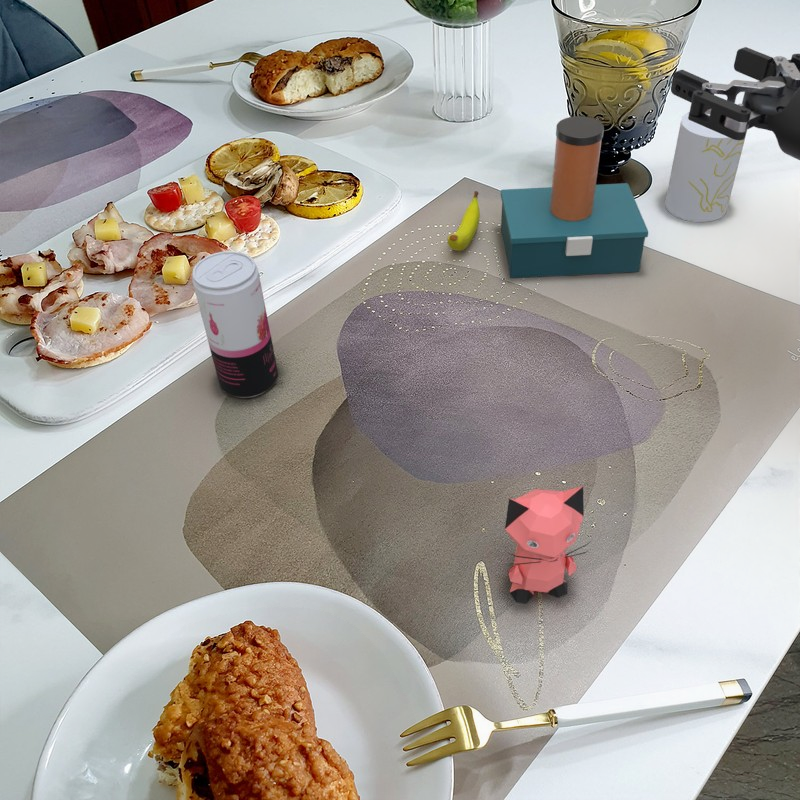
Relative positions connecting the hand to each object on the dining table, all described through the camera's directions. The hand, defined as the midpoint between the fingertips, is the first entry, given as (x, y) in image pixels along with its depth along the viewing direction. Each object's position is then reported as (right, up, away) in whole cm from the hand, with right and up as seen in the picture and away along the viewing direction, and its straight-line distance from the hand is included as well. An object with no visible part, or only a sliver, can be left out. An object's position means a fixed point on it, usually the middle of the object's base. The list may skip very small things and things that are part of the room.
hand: (706, 69), depth 83 cm
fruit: (-21, -11, +30) cm, 39 cm away
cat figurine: (-18, -48, -8) cm, 52 cm away
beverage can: (-46, -30, +12) cm, 57 cm away
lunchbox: (-8, -13, +28) cm, 32 cm away
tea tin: (-8, -8, +24) cm, 26 cm away
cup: (+11, -6, +34) cm, 36 cm away
